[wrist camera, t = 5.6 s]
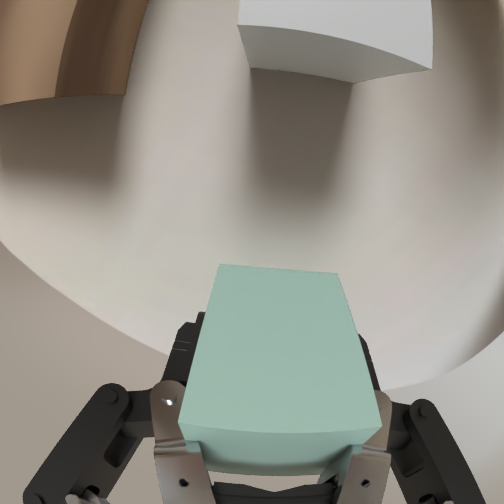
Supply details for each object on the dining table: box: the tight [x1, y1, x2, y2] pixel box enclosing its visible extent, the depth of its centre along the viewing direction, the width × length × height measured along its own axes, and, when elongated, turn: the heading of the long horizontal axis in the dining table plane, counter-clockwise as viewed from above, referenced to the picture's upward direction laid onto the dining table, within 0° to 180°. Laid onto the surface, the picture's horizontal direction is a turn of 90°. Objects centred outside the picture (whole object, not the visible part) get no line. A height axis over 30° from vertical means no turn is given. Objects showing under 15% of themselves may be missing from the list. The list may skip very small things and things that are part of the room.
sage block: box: [178, 264, 382, 476], centre depth 10 cm, size 5×5×7 cm
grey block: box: [237, 0, 433, 83], centre depth 6 cm, size 5×5×7 cm
